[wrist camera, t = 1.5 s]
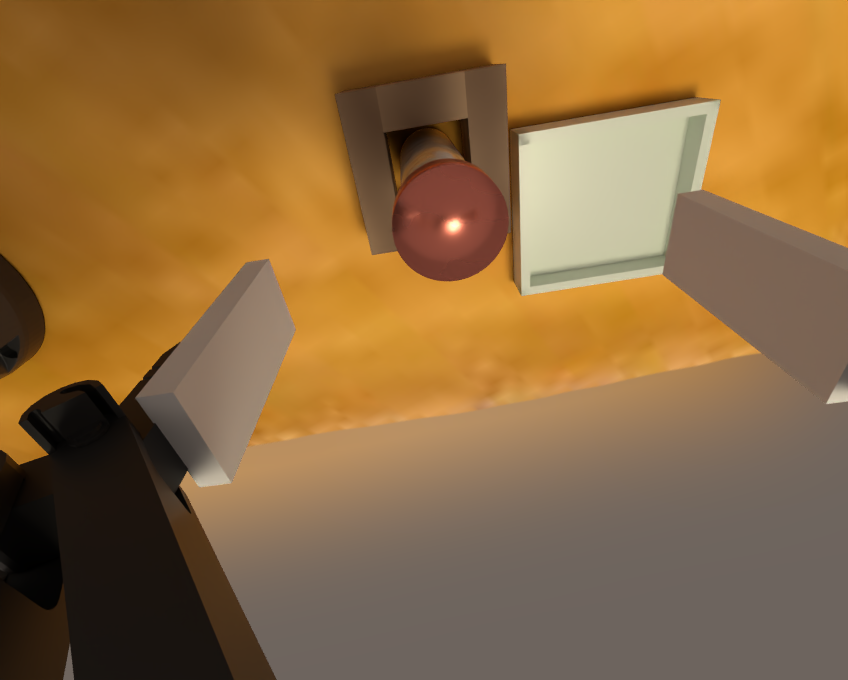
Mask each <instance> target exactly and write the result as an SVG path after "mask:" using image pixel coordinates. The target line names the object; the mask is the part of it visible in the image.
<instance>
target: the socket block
mask: <svg viewBox="0 0 848 680" xmlns="http://www.w3.org/2000/svg"><path fill="white" fill-rule="evenodd" d="M335 98H336V102H337V106H338V111H339V115H340V119H341V124H342V128H343V132H344V136H345V141H346V145H347V149H348V154H349V158H350V162H351V167H352V171H353V175H354V179H355V184H356V188H357V192H358V197H359V201H360V205H361V210H362V214H363V218H364V222H365V227H366V231H367V235H368V240H369V244H370V248H371V253H372V255H376V254H382V253H388V252H395V251H397V248H396V246H395V243H394V239H393V233H392V213H393V205H394V201H395V197H396V195H397V187H396V181H395V176H394V170H393V165H392V159H391V154H390V148H389V143H388V137H387V132H390V131H396V130H402V129H408V128H413V127H419V126H425V125H431V124H436V123H442V122H448V121H454V120H459V119H460V121H461V132H462V143H463V155H464V160H465V161H467V162H470V163H472V164H474V165H476V166H477V167H479V168H480V169H482V170H483V171H484V172H485V173H486V174H487V175H488V176H489V177H490V178H491V180H492V181H493V182H494V183H495V184H496V186H497V187H498V188H499V190H500V191H501V193H502V195H503V197H504V199H505V202H506V205H507V209H508V216H509V226H508V232H507V233H511V212H510V180H509V148H508V116H507V84H506V64H492V65H487V66H481V67H476V68H470V69H464V70H459V71H453V72H448V73H442V74H436V75H431V76H425V77H420V78H414V79H408V80H403V81H397V82H392V83H386V84H380V85H375V86H369V87H364V88H358V89H352V90H347V91H342V92H339V93H337V94H335Z"/></svg>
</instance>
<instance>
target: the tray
mask: <svg viewBox="0 0 848 680" xmlns="http://www.w3.org/2000/svg"><path fill="white" fill-rule="evenodd" d="M720 101H721V100H719V99H708V98H698V97H695V98H690V99H684V100H678V101H672V102H666V103H661V104H655V105H649V106H643V107H637V108H632V109H626V110H620V111H614V112H608V113H602V114H597V115H591V116H585V117H579V118H573V119H568V120H562V121H556V122H550V123H544V124H539V125H533V126H527V127H521V128H515V129H510V157H511V191H512V226H513V261H514V283H515V285H516V287H517V288H518V290H519V292H520V294H521V296H524V295H531V294H537V293H544V292H550V291H556V290H563V289H569V288H576V287H582V286H588V285H595V284H601V283H608V282H614V281H621V280H627V279H633V278H640V277H646V276H653V275H659V274H663V268H664V263H665V258H666V252H667V247H668V242H669V237H670V231H671V226H672V221H673V216H674V210H675V205H676V200H677V194H679V193H685V192H692V191H698V190H701V187H702V182H703V178H704V173H705V169H706V164H707V160H708V155H709V151H710V146H711V142H712V137H713V133H714V128H715V124H716V119H717V115H718V110H719V105H720Z"/></svg>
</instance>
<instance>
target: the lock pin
mask: <svg viewBox="0 0 848 680" xmlns="http://www.w3.org/2000/svg"><path fill="white" fill-rule="evenodd" d="M400 171H401V187H400V188H399V190H398V192H397V195H396V197H395V201H394V205H393V213H392V233H393V239H394V243H395V246H396V248H397V251H398V252H399V254H400V256H401V258H402V259H403V260H404V261H405V263H406V264H407V265H408V266H409V267H410V268H411V269H413V270H414V271H415V272H417V273H419V274H420V275H422V276H425V277H427V278H430V279H433V280H438V281H457V280H461V279H465V278H468V277H471V276H473V275H475V274H477V273H479V272H480V271H482V270H483V269H484V268H486V267H487V266H488V265H489V264H490V263H491V262H492V261H493V260H494V259H495V258H496V256H497V255H498V254H499V252H500V250H501V249H502V247H503V244H504V242H505V239H506V236H507V232H508V226H509V216H508V209H507V205H506V202H505V199H504V197H503V195H502V193H501V191H500V190H499V188H498V187H497V186H496V184H495V183H494V182H493V181H492V180H491V178H490V177H489V176H488V175H487V174H486V173H485V172H484V171H483V170H482V169H480V168H479V167H477V166H476V165H474V164H472V163H470V162H467V161H465V160H464V158H463V157H462V156H461V154H460V153H459V152H458V150H457V149H456V147H455V146H454V145H453V143H452V142H451V141H450V139H449V138H448V137H447V136H446V135H445V134H444V133H443V132H441V131H439V130H437V129H433V128H423V129H419V130H417V131H415V132H413V133H412V134H411V135H410V136H409V137H408V138H407V139H406V141H405V142H404V144H403V146H402V149H401V154H400Z"/></svg>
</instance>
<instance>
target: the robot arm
mask: <svg viewBox="0 0 848 680" xmlns="http://www.w3.org/2000/svg"><path fill="white" fill-rule="evenodd" d="M663 275H664V276H665V277H666V278H668V279H669V280H670V281H671V282H673V283H674V284H675V285H676V286H678V287H679V288H680V289H681V290H683V291H684V292H685V293H686V294H688V295H689V296H690V297H692V298H693V299H694V300H695V301H697V302H698V303H699V304H700V305H702V306H703V307H704V308H705V309H707V310H708V311H709V312H710V313H712V314H713V315H714V316H715V317H717V318H718V319H719V320H721V321H722V322H723V323H724V324H726V325H727V326H728V327H729V328H731V329H732V330H733V331H734V332H736V333H737V334H738V335H739V336H741V337H742V338H743V339H744V340H746V341H747V342H748V343H750V344H751V345H752V346H753V347H755V348H756V349H757V350H758V351H760V352H761V353H762V354H764V355H765V356H766V357H767V358H768V359H770V360H771V361H772V362H773V363H775V364H776V365H777V366H779V367H780V368H781V369H782V370H784V371H785V372H786V373H787V374H789V375H790V376H791V377H793V378H794V379H795V380H796V381H798V382H799V383H800V384H801V385H803V386H804V387H805V388H807V389H808V390H809V391H810V392H811V393H813V394H814V395H815V396H816V397H818V398H819V399H820V400H821V401H823V402H824V403H825V404H830V403H837V402H845V401H848V248H846V247H844V246H841V245H839V244H836V243H834V242H831V241H829V240H826V239H824V238H821V237H819V236H816V235H814V234H812V233H809V232H807V231H804V230H802V229H799V228H797V227H794V226H792V225H789V224H787V223H784V222H782V221H779V220H777V219H774V218H772V217H769V216H767V215H764V214H762V213H759V212H757V211H754V210H752V209H749V208H747V207H744V206H742V205H739V204H737V203H734V202H732V201H729V200H727V199H724V198H722V197H720V196H717V195H715V194H712V193H710V192H707V191H705V190H698V191H692V192H685V193H679V194H677V200H676V205H675V210H674V216H673V221H672V226H671V231H670V237H669V242H668V247H667V252H666V258H665V263H664V268H663ZM295 330H296V329H295V326H294V324H293V321H292V318H291V316H290V313H289V311H288V308H287V305H286V303H285V300H284V297H283V295H282V292H281V290H280V287H279V284H278V282H277V279H276V277H275V274H274V271H273V269H272V266H271V263H270V261H269V259H265V260H259V261H253V262H247V263H245V265H244V266H243V267H242V268H241V269H240V271H239V272H238V273H237V274H236V276H235V277H234V278H233V279H232V280H231V282H230V283H229V284H228V285H227V287H226V288H225V289H224V290H223V291H222V293H221V294H220V295H219V296H218V297H217V299H216V300H215V301H214V302H213V304H212V305H211V306H210V307H209V308H208V310H207V311H206V312H205V313H204V315H203V316H202V317H201V318H200V319H199V321H198V322H197V323H196V324H195V326H194V327H193V328H192V329H191V330H190V332H189V333H188V334H187V335H186V336H185V338H184V339H183V340H182V341H181V342H179V343H178V344H176V345H175V346H174V347H172V348H171V349H169V350H168V351H167V352H165V353H164V354H163V355H162V356H161V357H160V358H159V359H158V361H157V362H156V363H155V364H154V365H153V366H152V370H149V371H148V372H147V373H146V375H145V376H144V377H143V380H141V381H140V382H139V383H138V384H137V385H136V386H135V388H134V389H133V390H132V391H131V392H130V394H129V395H128V396H127V397H126V398H125V399H124V401H123V402H122V403H121V404H120V405H118V404H117V403H116V402H115V400H114V399H113V398H112V396H111V395H110V394H109V392H108V391H107V390H106V388H105V387H104V386H103V384H101V383H100V382H99V381H97V380H86V381H81V382H76V383H73V384H70V385H68V386H65V387H62V388H60V389H58V390H56V391H54V392H52V393H50V394H48V395H46V396H44V397H43V398H41V399H40V400H39V401H37V402H36V403H34V404H33V405H31V406H30V407H29V408H28V409H27V410H26V411H25V412H24V413H23V415H22V416H21V418H20V421H19V425H20V426H21V427H22V428H23V429H24V430H25V431H26V432H27V433H28V434H29V435H30V436H31V437H32V438H33V439H34V440H35V441H36V442H37V443H38V444H39V445H40V446H41V447H42V448H43V449H44V450H45V451H46V452H47V453H48V454H49V455H47V456H44V457H41V458H38V459H35V460H32V461H29V462H26V463H23V464H21V465H18V464H17V463H16V462H15V461H14V460H13V459H12V458H11V457H10V456H9V455H7V454H6V453H5V452H3V451H2V450H0V680H63V677H64V671H65V666H66V661H67V655H68V650H69V644H70V646H71V655H72V664H73V673H74V680H276V678H275V676H274V673H273V672H272V669H271V667H270V665H269V663H268V661H267V659H266V657H265V655H264V653H263V651H262V649H261V647H260V645H259V643H258V641H257V639H256V637H255V634H254V632H253V630H252V628H251V626H250V624H249V622H248V620H247V618H246V616H245V614H244V612H243V610H242V608H241V606H240V604H239V602H238V600H237V598H236V595H235V593H234V592H233V589H232V587H231V585H230V583H229V581H228V579H227V577H226V575H225V573H224V571H223V569H222V567H221V565H220V563H219V561H218V559H217V556H216V555H215V552H214V551H213V548H212V546H211V544H210V542H209V540H208V538H207V536H206V534H205V532H204V530H203V528H202V526H201V524H200V522H199V520H198V518H197V516H196V514H195V511H194V509H193V507H192V506H191V503H190V501H189V499H188V497H187V495H186V494H185V492H184V491H183V490H182V488H181V487H180V486H179V485H180V483H181V481H182V479H183V478H184V476H185V474H186V472H187V471H188V472H189V473H190V475H191V476H192V478H193V479H194V481H195V482H196V483H197V485H198V486H199V487H206V486H213V485H220V484H228V483H232V481H233V478H234V476H235V474H236V471H237V469H238V467H239V464H240V462H241V459H242V457H243V455H244V452H245V450H246V447H247V445H248V443H249V440H250V438H251V435H252V433H253V431H254V428H255V426H256V423H257V421H258V419H259V416H260V414H261V411H262V409H263V407H264V404H265V402H266V400H267V397H268V395H269V392H270V390H271V388H272V385H273V383H274V380H275V378H276V376H277V373H278V371H279V368H280V366H281V364H282V361H283V359H284V356H285V354H286V352H287V349H288V347H289V344H290V342H291V340H292V337H293V335H294V333H295ZM44 334H45V324H44V318H43V314H42V311H41V308H40V306H39V303H38V301H37V299H36V297H35V295H34V294H33V292H32V291H31V289H30V287H29V286H28V285H27V283H26V282H25V281H24V279H23V278H22V277H21V276H20V275H19V273H18V272H17V271H16V270H15V269H14V268H13V267H12V266H11V265H10V264H9V263H8V262H7V261H6V260H5V259H4V258H2V257H1V256H0V379H1V378H3V377H5V376H7V375H9V374H10V373H12V372H14V371H15V370H16V369H18V368H19V367H20V366H21V365H23V364H24V363H25V362H26V361H28V360H29V359H30V358H32V357H33V356H34V355H35V354H36V353H37V351H38V350H39V348H40V347H41V345H42V342H43V339H44Z"/></svg>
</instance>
